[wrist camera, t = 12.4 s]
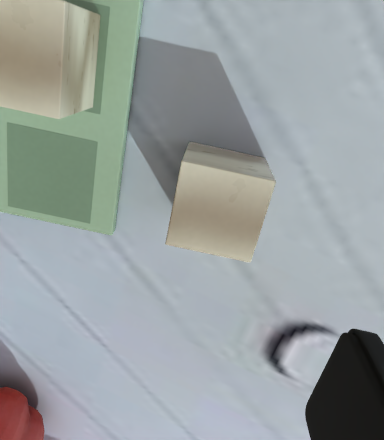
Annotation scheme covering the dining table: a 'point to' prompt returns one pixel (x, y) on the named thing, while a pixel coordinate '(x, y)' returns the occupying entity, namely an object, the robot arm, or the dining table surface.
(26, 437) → the vegetable
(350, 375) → the robot arm
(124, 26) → the word board
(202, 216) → the tile
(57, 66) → the tile
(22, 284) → the dining table surface
